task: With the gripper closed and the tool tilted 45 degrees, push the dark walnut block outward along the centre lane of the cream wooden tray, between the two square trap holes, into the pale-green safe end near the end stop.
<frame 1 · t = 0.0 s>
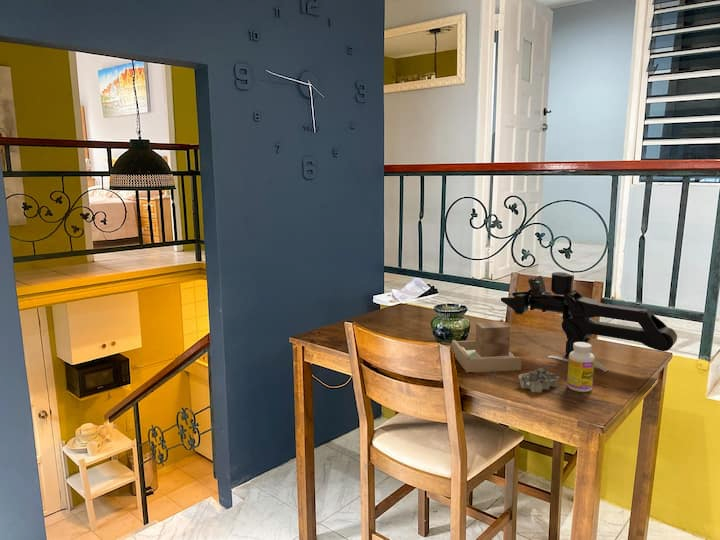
hand: (506, 296, 191), 17 cm above the table, tool horizontal, fingers open, 9 cm apart
onion: (501, 341, 196), on the table
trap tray: (484, 361, 176), on the table
fork: (576, 365, 172), on the table
egg carton: (538, 386, 156), on the table
walnut block: (492, 353, 176), point 2 cm above the table, touching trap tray
supplement bottle: (579, 388, 153), on the table
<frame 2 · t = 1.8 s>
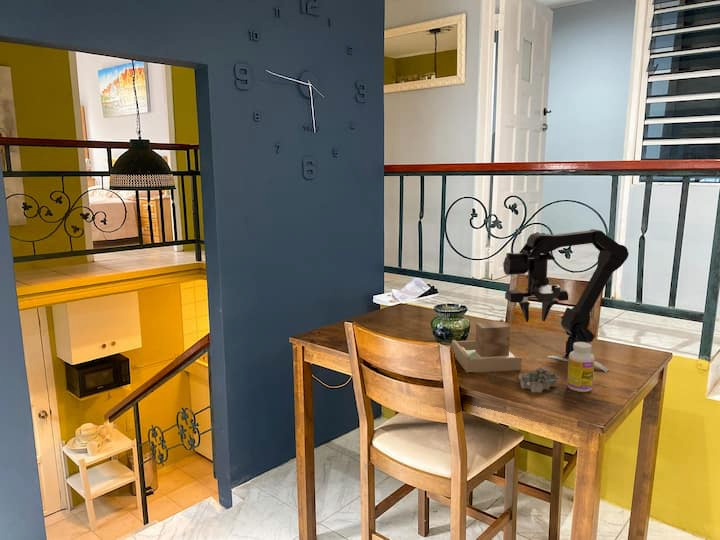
hand: (535, 321, 175), 13 cm above the table, tool pointing down, fingers open, 5 cm apart
nothing on the table moved.
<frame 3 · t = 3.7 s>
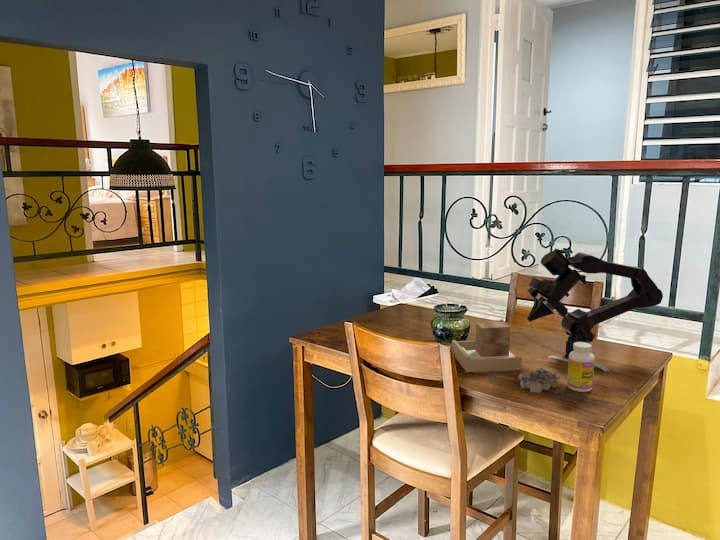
hand: (528, 320, 175), 13 cm above the table, tool tilted 45°, fingers closed
nothing on the table moved.
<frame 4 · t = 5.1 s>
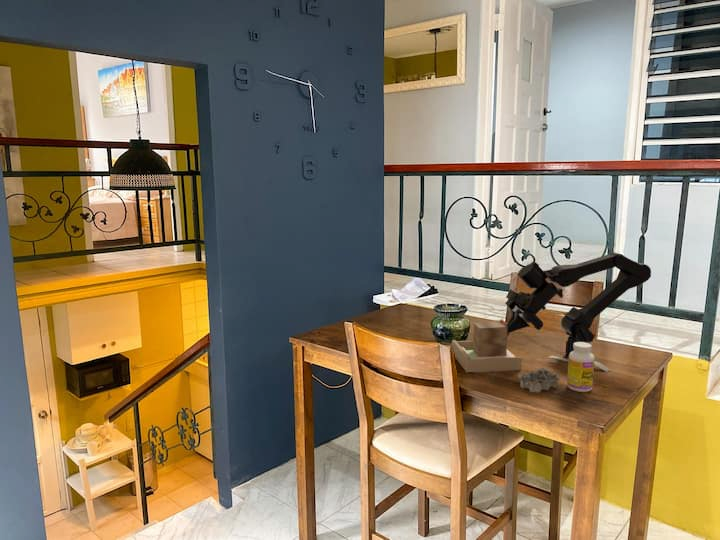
hand: (504, 332, 175), 9 cm above the table, tool tilted 45°, fingers closed, pressing on walnut block
walnut block: (489, 353, 175), point 3 cm above the table, touching gripper
everything else where it was.
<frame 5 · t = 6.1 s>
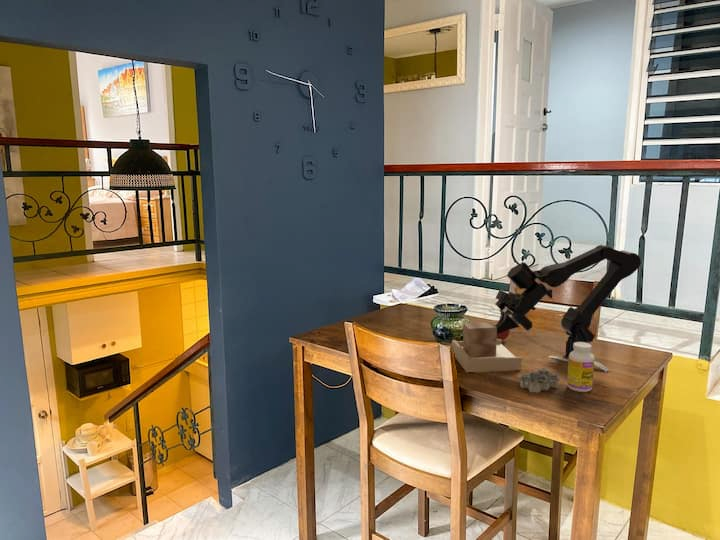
hand: (494, 333, 174), 9 cm above the table, tool tilted 45°, fingers closed, pressing on walnut block
walnut block: (479, 353, 175), point 2 cm above the table, touching gripper, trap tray
everything else where it was.
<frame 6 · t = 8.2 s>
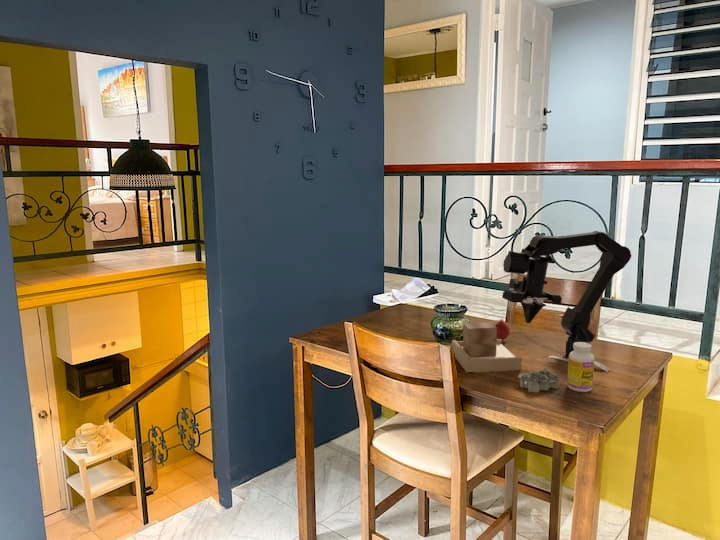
hand: (527, 323, 175), 12 cm above the table, tool pointing down, fingers closed
walnut block: (479, 353, 175), point 2 cm above the table, touching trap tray
everything else where it was.
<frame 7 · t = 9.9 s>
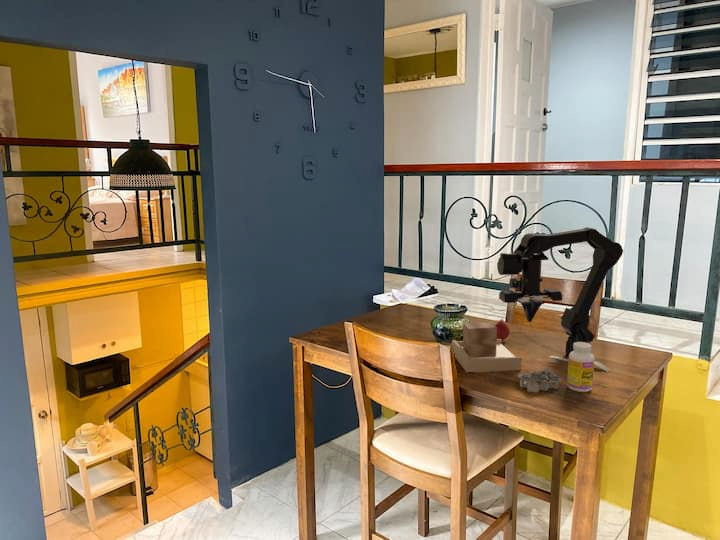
hand: (529, 321, 175), 12 cm above the table, tool pointing down, fingers closed
nothing on the table moved.
at the end: walnut block 0.3 cm from the target spot on the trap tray, point 2.5 cm above the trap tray's base; walnut block tilted 0°; walnut block moved 4.2 cm from its start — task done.
